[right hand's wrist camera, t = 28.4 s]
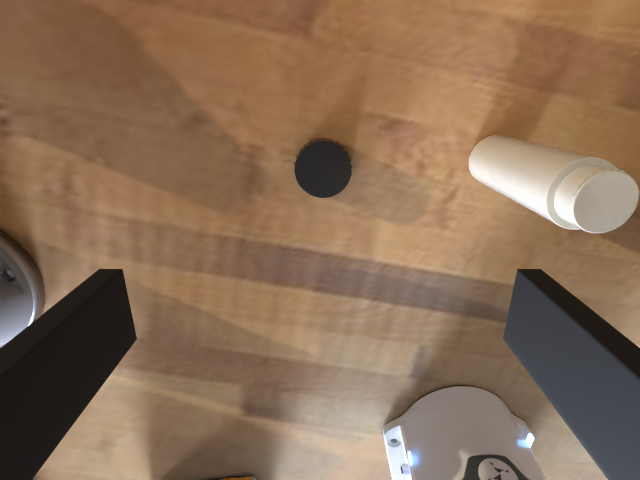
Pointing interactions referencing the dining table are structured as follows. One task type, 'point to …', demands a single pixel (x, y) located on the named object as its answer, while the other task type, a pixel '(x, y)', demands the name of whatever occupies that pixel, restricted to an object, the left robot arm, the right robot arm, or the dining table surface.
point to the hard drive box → (243, 479)
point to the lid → (323, 168)
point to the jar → (556, 183)
